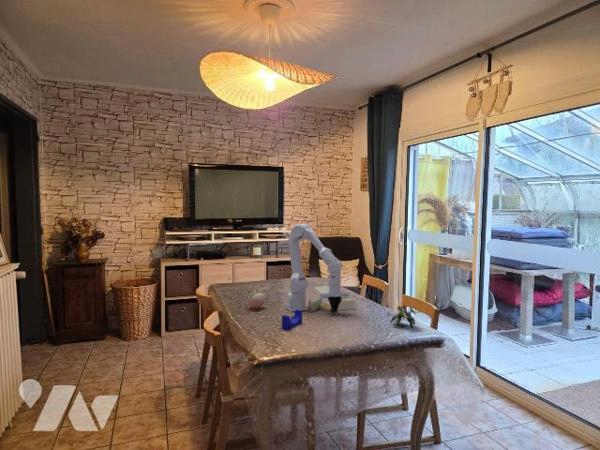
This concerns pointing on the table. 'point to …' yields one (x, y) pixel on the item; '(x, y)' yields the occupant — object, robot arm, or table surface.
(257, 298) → the decorative fruit
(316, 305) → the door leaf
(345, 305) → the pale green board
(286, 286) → the table surface
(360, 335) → the table surface
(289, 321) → the blue u-shaped block
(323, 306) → the doorstop block
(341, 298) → the robot arm
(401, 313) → the dark green branching piece
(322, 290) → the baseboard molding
